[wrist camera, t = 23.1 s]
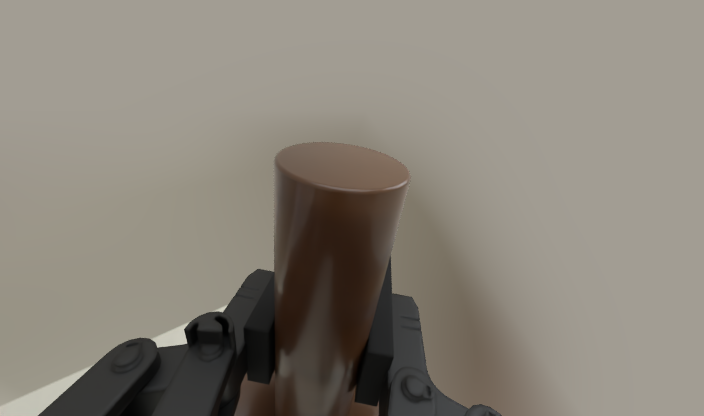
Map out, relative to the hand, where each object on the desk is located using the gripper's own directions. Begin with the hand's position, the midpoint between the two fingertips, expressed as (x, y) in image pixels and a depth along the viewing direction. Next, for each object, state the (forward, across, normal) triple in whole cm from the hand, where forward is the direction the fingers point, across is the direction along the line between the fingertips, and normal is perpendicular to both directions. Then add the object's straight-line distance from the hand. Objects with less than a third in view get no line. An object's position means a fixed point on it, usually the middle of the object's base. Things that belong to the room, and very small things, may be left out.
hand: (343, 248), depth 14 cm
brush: (-5, 0, -8) cm, 10 cm away
